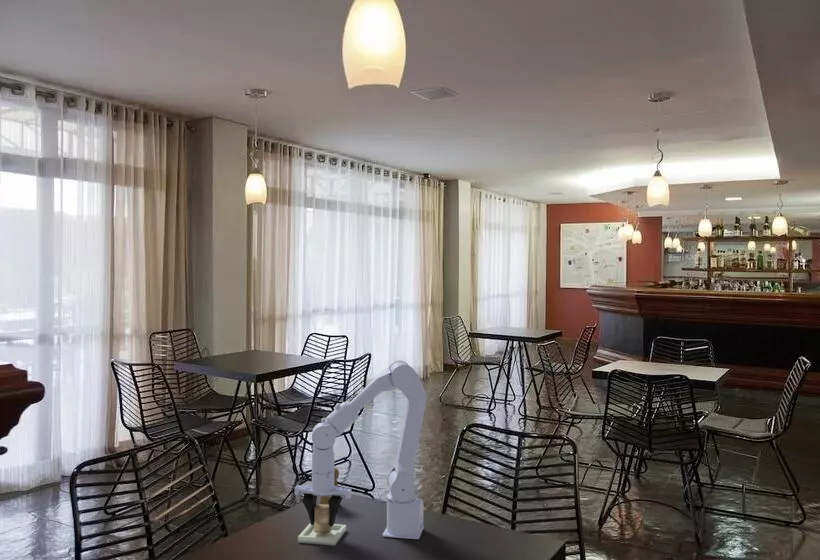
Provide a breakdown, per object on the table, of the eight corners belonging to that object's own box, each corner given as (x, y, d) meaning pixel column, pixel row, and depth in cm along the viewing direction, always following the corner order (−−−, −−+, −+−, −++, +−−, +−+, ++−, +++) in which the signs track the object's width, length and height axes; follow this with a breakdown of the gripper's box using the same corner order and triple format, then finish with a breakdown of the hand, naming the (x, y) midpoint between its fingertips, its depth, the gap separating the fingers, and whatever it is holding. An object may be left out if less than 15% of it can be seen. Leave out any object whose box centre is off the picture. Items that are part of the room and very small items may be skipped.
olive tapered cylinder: (338, 509, 181) (339, 471, 181) (317, 509, 181) (317, 470, 181) (341, 502, 187) (341, 465, 187) (321, 502, 187) (321, 464, 187)
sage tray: (346, 530, 165) (346, 524, 165) (335, 545, 156) (335, 539, 156) (311, 527, 167) (311, 522, 167) (297, 542, 158) (298, 536, 158)
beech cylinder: (333, 528, 163) (334, 504, 164) (328, 534, 159) (328, 510, 159) (317, 526, 164) (317, 503, 165) (311, 533, 160) (311, 509, 160)
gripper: (354, 468, 164) (354, 520, 164) (301, 464, 167) (301, 516, 167) (347, 476, 157) (346, 531, 157) (291, 472, 160) (291, 526, 160)
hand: (322, 524), depth 162 cm, fingers closed on beech cylinder, 4 cm apart
